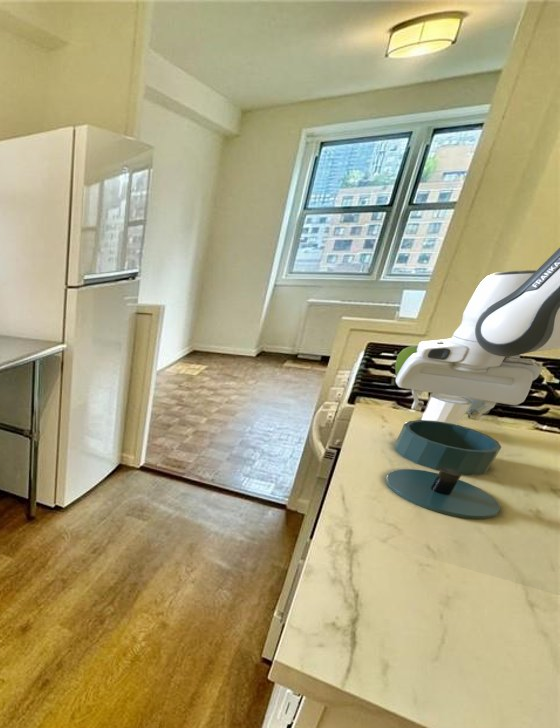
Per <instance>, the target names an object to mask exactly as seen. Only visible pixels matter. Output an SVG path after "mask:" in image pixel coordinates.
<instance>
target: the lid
mask: <svg viewBox="0 0 560 728" xmlns="http://www.w3.org/2000/svg"><path fill="white" fill-rule="evenodd" d="M461 477H462V475H461V473H460V472H458V471H456V470H453V469H449V468H442V469H441V470H440V471H438V473H437V472H433V471H428V470H421V469H412V468H411V469H410V468H409V469H407V468H406V469H405V468H402V469H395V470H392V471H390V472H388V474H387V475H386V477H385V483H386V485H387V487H388V488H389V489H390V490H391V491H392V492H393V493H395V494H396V495H397V496H400V497H401V498H402V499H404V500H406V501H408V502H410V503H413V504H415V505H416V506H419V507H422V508H425V509H427V510H430V511H433V512H435V513H439V514H443V515H447V516H451V517H457V518H461V519H463V518H464V519H469V520H470V519H472V520H486V519H491V518H494V517H496V516H497V515H498V514H499V512H500V511H501V506H500V503H499V502H498V501H497V499H496V498H495V497H493V496H492V495H491V494H489V493H488V492H486V491H484V490H482V489H481V488H479V487H478V486H475V485H473V484H472V483H471V484H470V483H468V482H466V481H463V480H461V479H460V478H461Z"/></svg>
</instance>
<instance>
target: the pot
mask: <svg viewBox="0 0 560 728" xmlns="http://www.w3.org/2000/svg"><path fill="white" fill-rule="evenodd" d="M393 448H394V451H395V452H396V453H397V454H398V455H400V456H401V457H402V458H404V459H406V460H408V461H410V462H412V463H414V464H416V465H419V466H422V467H425V468H427V469H431V470H434V471H438V472H440V470H441V469H442V468H449V469H453V470H456V471H458V472H460V473H461V476H480V475H484V474H486V472H488V471H489V469H490V467H491V466H492V464H493V462H494V460H495V459H496V457H497V456H498V454H499V453H500V451H501V449H502V445H501V443H500V442H499V441H498V440H496V439H495V438H494V437H492V436H489V435H488V434H486V433H484V432H481V431H479V430H476V429H474V428H470V427H467V426H463V425H459V424H458V425H456V424H451V423H445V422H439V421H429V420H422V419H417V420H408V421H407V422H405V423H404V424H403V426H402V428H401V430H400V433H399V435H398V436H397V438H396V440H395V443H394V444H393Z"/></svg>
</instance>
